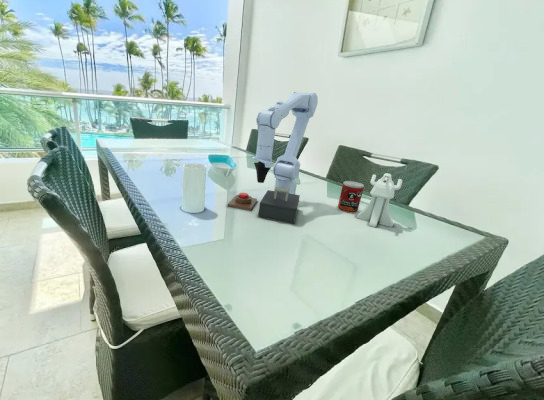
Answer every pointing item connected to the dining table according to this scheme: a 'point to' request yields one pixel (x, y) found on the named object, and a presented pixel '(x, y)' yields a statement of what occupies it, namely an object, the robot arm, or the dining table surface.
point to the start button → (243, 195)
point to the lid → (280, 199)
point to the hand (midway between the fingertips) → (260, 182)
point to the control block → (242, 203)
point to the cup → (193, 187)
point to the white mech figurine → (380, 201)
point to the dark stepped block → (277, 214)
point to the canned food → (350, 196)
